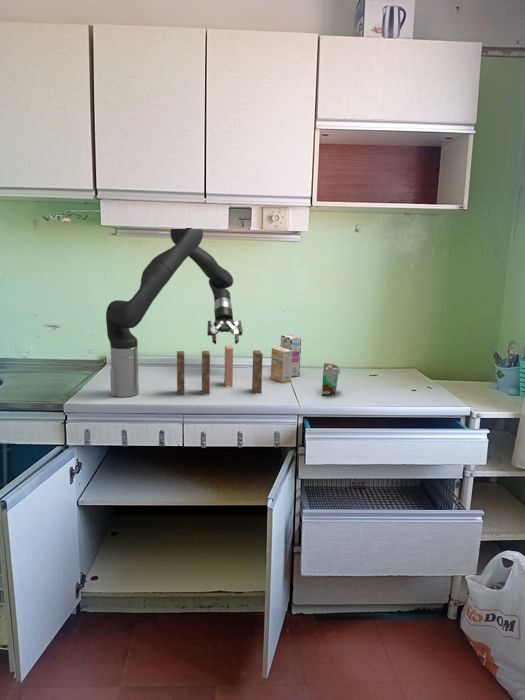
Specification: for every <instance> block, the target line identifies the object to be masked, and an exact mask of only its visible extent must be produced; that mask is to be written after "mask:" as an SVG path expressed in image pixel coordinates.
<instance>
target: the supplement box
mask: <svg viewBox="0 0 525 700" xmlns="http://www.w3.org/2000/svg"><path fill="white" fill-rule="evenodd" d="M292 352H293V351H292V350H288V349H285V348H282V347H280V346H277V347H271V361H270V362H271V363H270V379H271V380H274V381H277V382H279V383H282V384H286V383H292V377H291V373H292Z"/></svg>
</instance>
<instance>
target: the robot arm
mask: <svg viewBox="0 0 525 700" xmlns="http://www.w3.org/2000/svg"><path fill="white" fill-rule="evenodd" d="M169 235H170V239H171V241H172V243H173V244H174V245H173V246H172V247H169V248H167V250H165V251H163V252H161V253H160V254H158V255H156V256H155V257H153V259H152V260H151V261H150V262H149V263H148V264H147V265H146V267H145V268H144V269H143V271H142V273H141V278H140V286H139V288H138V290H137V291H136V293H135V294H134V295H133V297H131V299H129V300H121V299H120V300H115V299H114V300H113V301H111V302H110V303H109V304H108V305H107V309H106V312H105V321H106V333H107V338H108V340H109V346H110V348H109V349H110V370H109V373H110V396H111V397H118V398H129V397H134V396H137V395H138V394H139V392H140V391H139V384H140V383H139V349H138V348H139V346H138V345H139V343H138V339H137V337H136V336H135V335H133V334H132V332H131V329H133V328H135V327H137V326H138V325H139V324H140V323H141V321H142V320H143V318H144V317H145V315H146V314H147V311H148V310H149V308H150V307H151V305H152V304H153V302H154V301H155V299H156V298H157V297H158V296H159V294H160V292H161V291H162V289H164V287H165V286H166V285H167V283H168V282H169V281H170V279H171V278H172V277H173V275H174V274H175V272H177V270H178V269H179V268H180V266H181V265H182V264H183V263H184V261H185V260H186V259H187V258H188V257H189V258H190V259H191V260H192V261H193V262H194V263H195V264H196V265H197V266H198V267H199V268H200V270H201V271H202V272H203V274H204V275H205V276H206V277H207V278H208V284H209V287H210V289H211V292H212V295H213V302H214V305H213V312H214V321H211V320H207V336H211V339H212V340H211V342H212V344H214V345H216V344H217V335H218V334H219V333H230V334H231V335H233V336H234V344H235V345H237V344H238V343H239V341H240V338H239V336H243V332H244V331H243V325H242V321H241V320H238V321H235V320H234V315H233V305H232V301H231V299H232V297H231V293H230V291H229V290H228V288H230V287H232V286H233V284H234V278H233V275H232V274H231V272H229V270H226V269H225V268H224V267H222V266H221V265H220V264H219V263H218V262H217V260H216V259H215V258H214V257H213V256H212V255H211V254H210V253H209V252H208V251H206V250H204V248H201V246H200V244H201V242H202V240H203V237H204V236H203V235H204V233H203V229H192V228H186V229H171V228H170V234H169ZM235 326H236V327H235ZM213 327H215V328H214V329H213V331H212V329H211V328H213ZM236 328H237V329H238V330H237V329H236Z"/></svg>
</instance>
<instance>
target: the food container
mask: <svg viewBox="0 0 525 700" xmlns="http://www.w3.org/2000/svg"><path fill="white" fill-rule="evenodd" d="M340 374H341V370H340V366H338V365H337V364H334V363H326V362H324V364H323V369H322V385H321V388H322V389H321V396H322V397H325V396H333V395H336V393H337V387H338V386H337V385H338V377H339V375H340Z"/></svg>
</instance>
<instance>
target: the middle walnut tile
mask: <svg viewBox="0 0 525 700" xmlns="http://www.w3.org/2000/svg"><path fill="white" fill-rule="evenodd" d="M210 353H211V352H210V351H209V350H201V393H203V394H211V393H210V390H211V389H210V385H211V384H210V383H211V382H210V381H211V380H210V379H211V378H210V377H211V354H210ZM203 394H202V395H203Z"/></svg>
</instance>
